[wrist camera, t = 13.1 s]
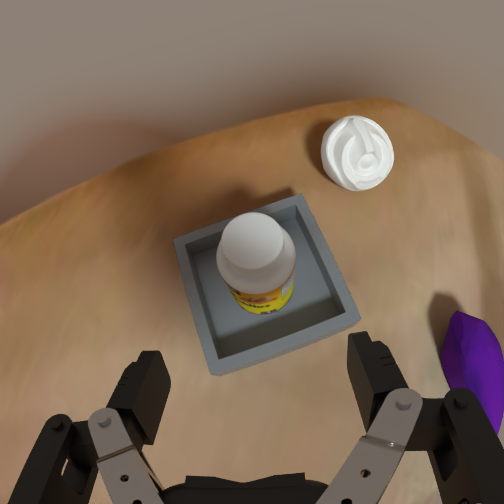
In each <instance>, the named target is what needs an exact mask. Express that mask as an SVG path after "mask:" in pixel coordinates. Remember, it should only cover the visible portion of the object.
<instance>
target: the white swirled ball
mask: <svg viewBox="0 0 504 504" xmlns="http://www.w3.org/2000/svg"><path fill="white" fill-rule="evenodd" d="M321 159H322V163H323V168H324V171H325V172H326V174H327V175H328V176H329V177H330V178H331V179H332V180H333V181H334V182H335V183H337V184H338V185H340V186H341V187H343V188H346V189H348V190H352V191H362V190H366V189H370V188H372V187H375V186H376V185H378V184H379V183H381V182H382V181H383V180H384V179H385V178H386V176H387V175H388V174H389V172H390V170H391V168H392V166H393V162H394V152H393V147H392V144H391V141H390V139H389V137H388V135H387V134H386V132H385V131H384V130H383V129H382V128H381V127H380V126H379V125H378V124H377V123H375V122H374V121H372V120H370V119H368V118H365V117H361V116H347V117H344V118H341V119H339V120H338V121H336V122H335V123H333V124H332V125H331V126H330V127H329V128H328V129H327V130H326V131H325V133H324V136H323V140H322V145H321Z"/></svg>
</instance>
